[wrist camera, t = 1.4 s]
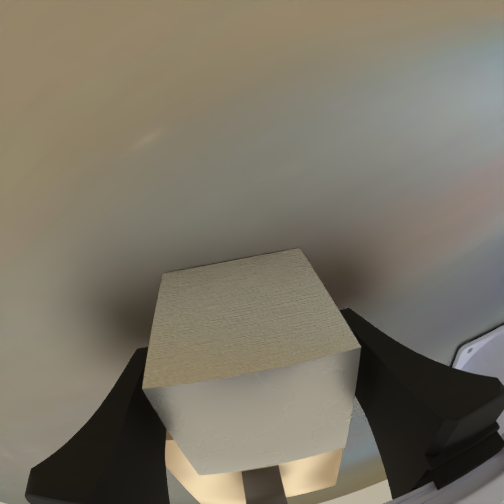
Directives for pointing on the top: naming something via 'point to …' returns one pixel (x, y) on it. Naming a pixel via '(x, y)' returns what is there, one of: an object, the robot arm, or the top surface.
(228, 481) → the tan square panel
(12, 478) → the top surface
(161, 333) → the wood-grain grey cube
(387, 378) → the robot arm
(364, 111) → the top surface
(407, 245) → the top surface
